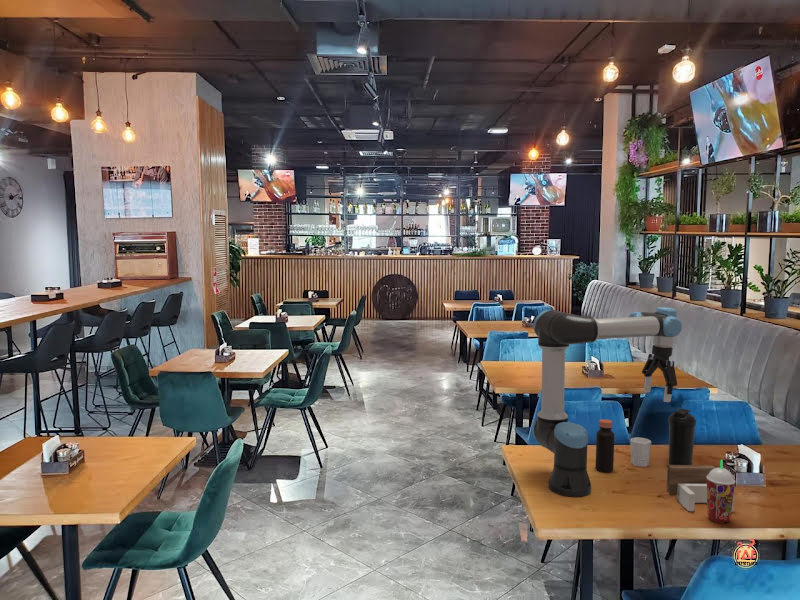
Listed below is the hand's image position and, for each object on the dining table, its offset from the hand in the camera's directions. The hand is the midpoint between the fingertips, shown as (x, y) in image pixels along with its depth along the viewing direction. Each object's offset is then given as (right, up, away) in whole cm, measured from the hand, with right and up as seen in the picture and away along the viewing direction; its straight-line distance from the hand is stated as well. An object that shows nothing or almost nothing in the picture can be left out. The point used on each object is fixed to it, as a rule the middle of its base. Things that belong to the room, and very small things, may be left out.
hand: (656, 396), depth 248 cm
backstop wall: (+1, -31, -28) cm, 41 cm away
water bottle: (+9, -28, -1) cm, 30 cm away
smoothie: (0, -33, -49) cm, 59 cm away
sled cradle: (0, -32, -39) cm, 50 cm away
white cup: (-6, -28, +2) cm, 29 cm away
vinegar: (-23, -29, -5) cm, 37 cm away
